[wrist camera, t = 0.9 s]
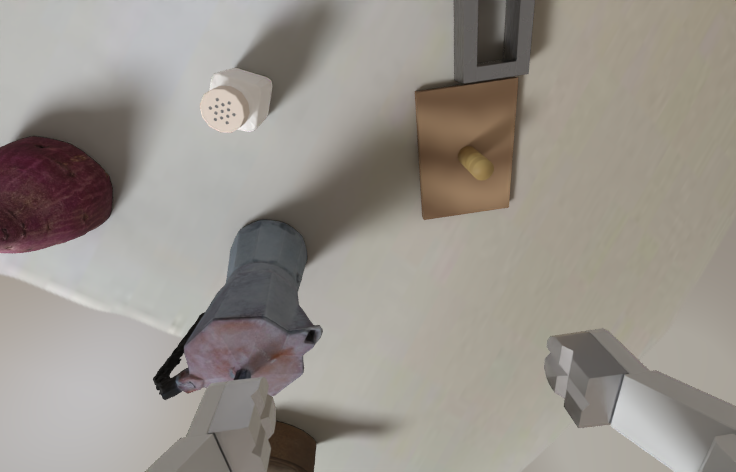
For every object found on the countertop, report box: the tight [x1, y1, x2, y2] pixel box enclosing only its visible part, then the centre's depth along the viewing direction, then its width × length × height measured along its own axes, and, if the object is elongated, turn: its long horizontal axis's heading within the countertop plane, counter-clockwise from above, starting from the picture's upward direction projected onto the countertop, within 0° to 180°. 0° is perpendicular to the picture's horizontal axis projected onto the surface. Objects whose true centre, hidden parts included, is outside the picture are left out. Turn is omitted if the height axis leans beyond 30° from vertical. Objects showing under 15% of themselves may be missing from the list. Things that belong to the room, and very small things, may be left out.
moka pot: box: [153, 220, 323, 400], centre depth 34 cm, size 10×15×20 cm, turn 114°
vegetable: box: [0, 136, 113, 253], centre depth 32 cm, size 10×10×15 cm
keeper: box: [415, 77, 518, 220], centre depth 36 cm, size 14×10×6 cm
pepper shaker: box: [200, 68, 273, 133], centre depth 30 cm, size 4×4×10 cm
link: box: [454, 0, 535, 83], centre depth 31 cm, size 9×6×3 cm, turn 8°
